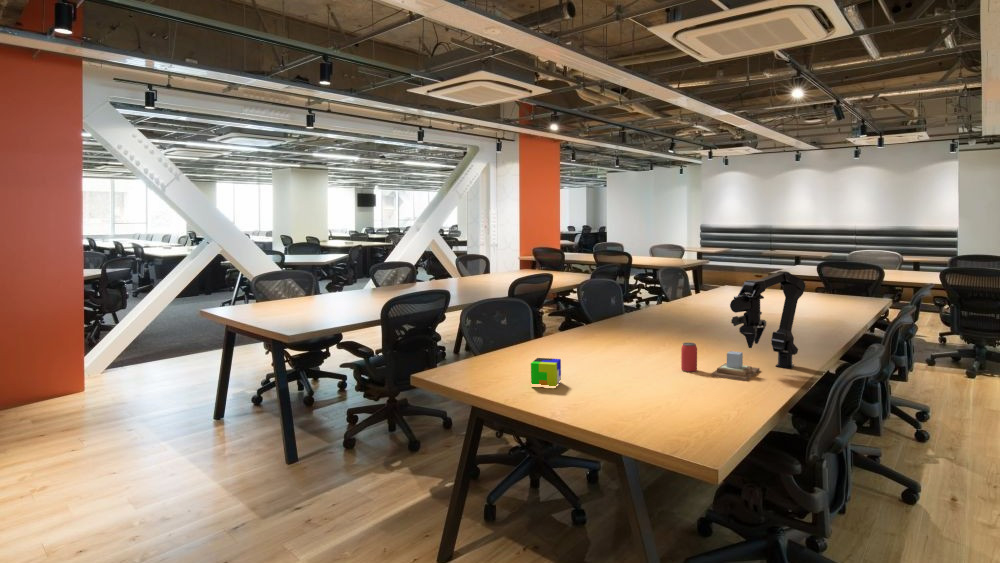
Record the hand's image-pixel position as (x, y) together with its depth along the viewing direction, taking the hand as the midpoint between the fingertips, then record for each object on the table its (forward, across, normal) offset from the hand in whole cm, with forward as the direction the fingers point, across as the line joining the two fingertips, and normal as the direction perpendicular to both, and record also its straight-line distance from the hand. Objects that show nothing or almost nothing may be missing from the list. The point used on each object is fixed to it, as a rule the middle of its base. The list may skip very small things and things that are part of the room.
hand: (753, 345), depth 244 cm
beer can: (+11, +13, -23) cm, 29 cm away
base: (+11, +7, -5) cm, 14 cm away
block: (+8, +9, -5) cm, 13 cm away
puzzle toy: (+9, +67, -62) cm, 92 cm away
